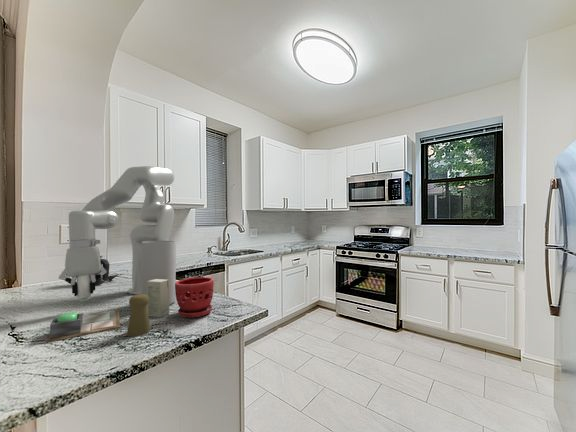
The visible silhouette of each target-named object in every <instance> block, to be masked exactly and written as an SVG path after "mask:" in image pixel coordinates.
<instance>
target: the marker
mask: <svg viewBox="0 0 576 432" xmlns="http://www.w3.org/2000/svg"><path fill="white" fill-rule="evenodd" d="M76 282H77V296H76V297H77V299H78V301H79V302H85V301H89V300H90V299H91V296H92V294H91V293H90V283H91V276H90V275H84V274H82V275H80V276H77V278H76Z"/></svg>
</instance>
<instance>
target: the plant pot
mask: <svg viewBox="0 0 576 432" xmlns="http://www.w3.org/2000/svg"><path fill="white" fill-rule="evenodd" d="M213 297H214V278H211V277H204V276H203V277H199V276H198V277H190V278H184V279H180V280H178V281H176V282H175V301H176V303H177V305H178V307H179V309H178V310H177V313H178V314H179V315H180V316H182V317H183V318H186V319H187V318H199V317H203V316H205V315H207V314H209V313H210V312H211V311H212V310H213V305H212V304H211V303H212V301H213Z"/></svg>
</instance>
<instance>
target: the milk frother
mask: <svg viewBox="0 0 576 432" xmlns="http://www.w3.org/2000/svg"><path fill="white" fill-rule="evenodd" d="M100 262H101V265H102V266H103V268H104V269H105V270H106V271H107V272H106V273H105V274H104V275H102V276H101V277H100V278H99V279H98V280H97V281H96V282H95V286H99V285H102V284H103V283H104V282H107V281H112V280H113V279H116V278H117V277H119V275H118V274H115V275H114V274H113V275H109V274H110V262H109V260H108V259H105V258H104V259H103V255H100ZM100 272H101V271H100ZM100 272H99V273H100ZM99 273H97V274H99ZM97 274H95V276H96V275H97Z"/></svg>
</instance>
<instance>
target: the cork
mask: <svg viewBox="0 0 576 432" xmlns="http://www.w3.org/2000/svg"><path fill="white" fill-rule="evenodd" d="M148 303H149V297H148V295H146V294H133V295H131V297H130V298H129V300H128V305H129V306H130V312H129V319H128V326H127V333H126V336H128V337H139V336H144V335H146V334H148V333H149V332H150V331H151V328H150V318H149V316H148V310H147V304H148Z"/></svg>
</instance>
